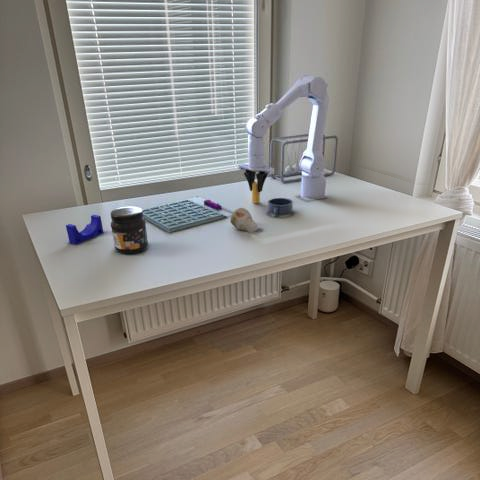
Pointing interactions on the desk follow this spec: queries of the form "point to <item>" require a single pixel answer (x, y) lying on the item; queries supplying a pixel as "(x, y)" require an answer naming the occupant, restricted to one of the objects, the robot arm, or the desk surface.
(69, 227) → the cable clip
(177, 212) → the calendar
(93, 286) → the desk surface
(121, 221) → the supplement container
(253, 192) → the peg
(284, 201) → the cup
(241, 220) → the rock
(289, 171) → the newton's cradle
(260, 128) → the robot arm
